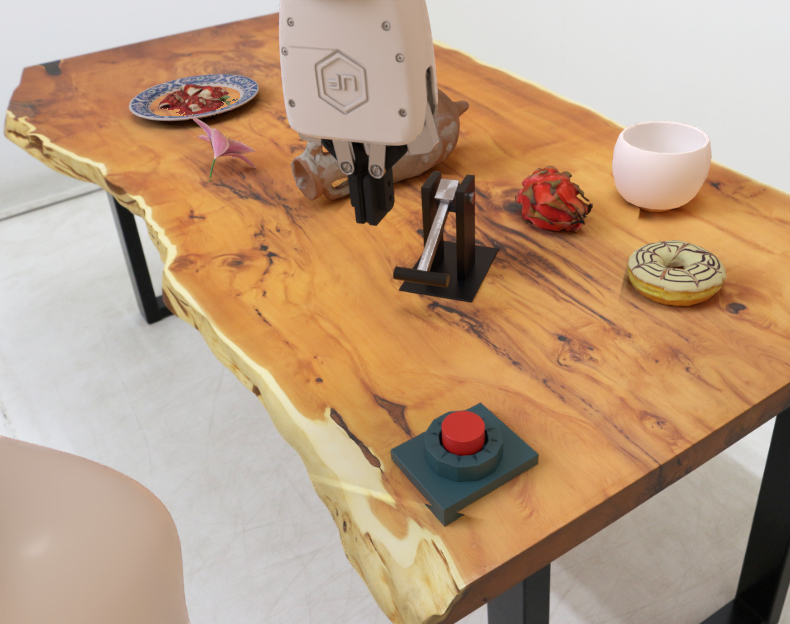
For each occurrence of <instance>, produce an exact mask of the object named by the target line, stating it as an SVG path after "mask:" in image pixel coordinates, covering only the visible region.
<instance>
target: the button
mask: <svg viewBox="0 0 790 624" xmlns="http://www.w3.org/2000/svg"><path fill="white" fill-rule="evenodd" d="M457 411H458V412H454V413H451V414H450V415H448V416H447V417H446V418H445V419H444V420H443V422H442V442H443V445H444V447H445V448H446V449H447V450H448V451H449V452H450V453H452V454H455V455H459V456H468V455H473V454H475V453H477V452H478V451H480V450H481V449H482V447H483V446H484V443H485V424H484V422H483V420H482V418H481V417H479V416H478V415H477V414H475V413H472V412H469V411H461V410H457Z"/></svg>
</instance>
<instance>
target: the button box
mask: <svg viewBox="0 0 790 624" xmlns="http://www.w3.org/2000/svg"><path fill="white" fill-rule="evenodd" d="M458 411H459V410H451V411H448V412H445V413H443V414H441V415H440V416H438V417H436V418H433V419H432V421H431V422H430V424H429V426H428V427H427V428H426V430H425V431H423V432H421V433H419V434H418V435H415V436H414V437H412V438H410V439H408V440H406V441H404V442H402V443H401V444H398V445H397V446H395V447H393V448H391V449H390V457H391V458H390V459H391V461H392V462H393V463H394V464H395V465H396V467H397V468H398V469H399V471H401V472H402V473H403V475H404V476H405V477H406V478H407V480H409V482H410V483H411V484H412V485H413V486H414V487H415V488H416V489H417V490H418V492H419V493H420V494H421V495H422V496H423V497H424V499H425V500H426V501H427V502H428V503H429V504H428V503H424V505H425V506H426V507H427V509H428V510H429V511H430V512H431V513H432V515H434V517H435V518H436V519H437V520H438V522H439V523H440V524H441V525H442V526H443V527H447V526H448V525H450V524H452V523H454V522H455V521H457V520H459V519H460V518H462V517H463V516H466V514H465V513H461V512H460V511H462V510H463V509H465V508H467V507H468V506H470V505H472V504H474V503H475V502H478V500H480V499H482V498H483V497H486V496H487V495H488V494H490V493H492V492H494V491H495V490H497V489H498V488H500V487H502V486H504V485H505V484H508V483H509V482H510V481H512V480H514V479H516V478H518V477H519V476H520V475H522V474H524V473H525V472H527V471H529V470H530V469H531V470H532V468H534V467H536V466H537V465H539V455H540V454H539V453H538V452H537V451H536V450H534V449H533V448H532V447H531V446H530V445H529V444H528V443H527V442H526V441H525V440H524V439H523V438H521V437H520V436H519V435H518V434H517V433H516V432H514V430H512V429H511V428H510V427H509V426H508V425H506V423H505V422H503V421H502V420H501V419H500V418H499V417H498V416H497V415H496V414H495V413H493V412H492V411H491V410H490V409H489V408H488V407H486V405H484V404H483V403H482V402H478V403H476V404H475V405H473V406H471V407H469V408H467V409H465V410H463V409H462V410H460V411H469V412H472V413H475V414H477V415H478V416H479V417H481V418H482V420H483V422H484V424H485V443H484V446H483V447H482V449H481V450H480V451H478V452H477V453H475V454H473V455H468V456H459V455H455V454H452V453H450V452H449V451H448V450H447V449H446V448H445V447H444V445H443V442H442V422H443V420H444V419H445V418H446V417H447V416H448V415H450V414H451V413H454V412H458Z"/></svg>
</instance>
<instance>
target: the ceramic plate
mask: <svg viewBox="0 0 790 624" xmlns="http://www.w3.org/2000/svg"><path fill="white" fill-rule="evenodd" d="M214 86H221V87H228V88H232V89H235V90H237V91H239V93H240V98H239V100H238V98H237V99H236V100H238V101H237V102H235V103H234V104H231V105H230V102H231V101H226V100H227V99H229V98H230V97H231V96H228V94H229V93H228V92H227V91H224V90H223V89H222V88H221V87H214ZM177 90H180V91H177ZM259 90H260V86H259V83H258V82H257V81H256V80H254V79H252V78H250V77H246V76H243V75H239V74H230V73H229V74H227V73H211V74H200V75H192V76H185V77H181V78H176V79H172V80H168V81H165V82H162V83H159V84H156V85H153V86H151V87H148V88H146V89H144V90H142V91H141V92H139V93H138V94H137V95H135V96H134V97H133V98H132V99H131V100H130V102H129V105H128V109H129V111H130V112H131V113H132V114H133V115H134V116H136V117H139V118H141V119H145V120H150V121H161V122H175V121H190V120H189V119H192V118H190V117H189V116H188V115H190V116H192V117H195V118H200V119H201V120H202V119H203V118H202V117H205V118H204V119H206V118H210V117H215V116H217V115H220V114H223V113H226V112H229V111H232V110H234V109H237V108H239V107H242V106H243V105H245V104H247V103H249V102H250V101H251V100H253V99H254V98H255V97H256V96H257V95H258V93H259ZM170 92H173V93H170ZM167 93H170V94H168V95H167V96H166V97H165V98H164V99H163V100H162V101H161V102H160V103H159V106H158V109H162V108H163V109H167V108H168V110H174V109H180V111H179V112H176V113H179V114H180V115H181V114H183V113H184V112H185V114H183V116H160V115H156V114H154V113H153V112H152V111H151V109H150V106H151V104H152V103H153V102H154V101H155V100H156V99H158V98H159V97H161V96H163V95H166V94H167ZM236 100H235V99H233V100H232V101H236ZM222 101H223V102H225V103H226V104H227V105H228V106H227V107H224V108H221V109H218V108H220V107H221V106H223V105H224V103H223V102H222ZM216 109H218V110H216ZM192 114H193V115H192ZM216 114H217V115H216ZM184 115H186V116H184ZM212 115H213V116H212ZM207 116H209V117H207ZM200 119H199V120H200Z"/></svg>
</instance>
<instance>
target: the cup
mask: <svg viewBox="0 0 790 624" xmlns="http://www.w3.org/2000/svg"><path fill="white" fill-rule="evenodd" d="M612 153H613V154H612V163H611V168H612V170H611V171H612V175H613V181H614V186H615V189H616V190H617V192H618V193H619V195H620V196H621V197H622V198H623V199H624V201H626V202H627V203H630V204H631V205H633V206H636V207H639V210H642V211H645V212H649V213H664V212H669V211H670V210H672V209H678V208H680V207H682V206H685V205H686V204H688V203H689V202H690V201H691V200H693V199H694V198H695V197H696V196H697V194H698V193H699V191H700V190H701V188H702V186H703V185H704V183H705V181H706V179H707V178H708V176H709V174H710V173H709V172H710V168H711V163H712V158H713V154H712V145H711V140H710V136H709V135H708V133H706V132H705V131H703V130H702V129H701V128H700V127H696V126H694V125H690V124H688V123H684V122H677V121H671V120H649V121H648V120H647V121H643V122H642V121H641V122H637V123H634V124H631V125H628V126H626V127H625V128H624V129H623V130H622V131H621V132H620V133H619V134H618V137H617V140H616V142H615V144H614V146H613V152H612Z"/></svg>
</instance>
